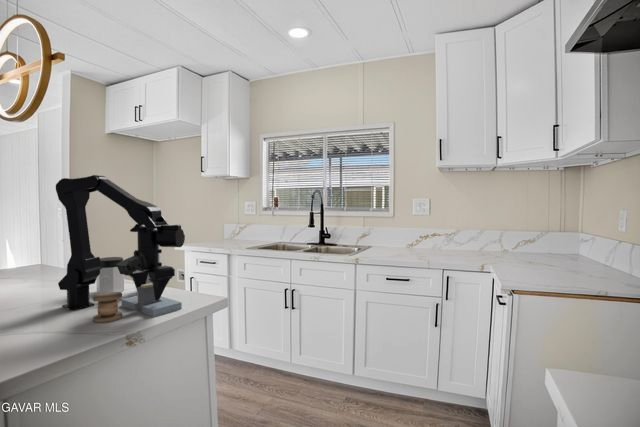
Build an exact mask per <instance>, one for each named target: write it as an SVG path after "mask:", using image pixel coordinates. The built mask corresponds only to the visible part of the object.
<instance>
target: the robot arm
mask: <svg viewBox="0 0 640 427" xmlns="http://www.w3.org/2000/svg"><path fill="white" fill-rule="evenodd" d="M55 191H56V192H55V193H56V195H57V199H58V201H59V202H60V203H61V204H62V205H63V207H64V208H65V212H66V213H65V214H66V220H67V227H68V237H69V243H70V252H71V255H70V258H69V260H68V262H67V265H66V275H64V277H62V279H60V280H59V282H58V284H57V285H58V287H59V291H66V304H63V305H62V307H63V308H64V309H66V310H69V311H74V310H78V309H83V308H87V307H92V306H95V303H94V302H92V301H90V285H93V284H96V282H97V281H96V278H97V277H98V275H99V274H100V269H102V268H101V266H100V258H101V257H100V256H95V255H94V254H93V253H92V250H91V242H90V234H89V228H88V227H89V226H88V217H87V211H86V208H87V207H86V206H87V204H88V202H89V200H90V195H91V194H90V193H94V192H99V193H100V194H102V195H103V196H104V197H106V198H107V199H109V200H111V201H112V202H114V203H115V204H117V205H118V206H120V207H122V208H123V209H124V210H125V211H126V213H127V214H128V215H129V218H131V219H132V220H133V221H134V222H135V223H136V224H134V226H133V227H132V228H131V229H130V230H129V231H130V233H137V249H135V250H134V251H133V255H132V256H129V257H127V258H125V259H123V261H121V262H119V263H117V264H116V265H117V267H118V270H119V272H120V274H124V276H126V277H127V276H128V277H130V278H131V279H132V280H133V283H134V285H135V289H136V292H137V293H138V287H141V285H144V284H146V280H147V277H148V273H149V277H150V278H151V279H148V280H149V281H151V282H152V283H153V288H154V296H155V300H159V299H160V297H162V295H163V292H164V291H165V288H166V287H167V285H168V284H169V281H170V280H172V279H173V277H175V276H176V272H175V271H176V269H175V268H174V267H172V266H168V265H162V264H163V263H162V262H161V263H160V262H159V253H161V254H162V248H182V247H183V245H184V243H185V240H186V239H185V238H186V235H185V233H184V230H183V229H182V224H172V225H171V224H169V223H168V221H167V220H166V218H165V217H164V216H163V215H162V210H161V208H160V207H159V206H157V205H155V204H152V203H150V202H148V201H144V200H142V199H139V198H137V197H136V196H134V195H133V194H131V193H130V192H128V191H126V190H125V189H124V188H121V187H120V186H118V184H116V183H115V182H113V181H112V180H110V179H109V178H108V177H107V176H105V175H98V174H93V175H91V176H85V177H76V178H69V177H64V178H61V179H60V180H59V179H58V181H57V183H56V184H55ZM159 245H160V246H161V249H159ZM159 266H160V267H159Z"/></svg>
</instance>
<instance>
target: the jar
mask: <svg viewBox="0 0 640 427" xmlns="http://www.w3.org/2000/svg"><path fill="white" fill-rule="evenodd" d="M123 260H124V257H122V256H108V257H107V256H106V257H100V266H101V268H102V269H100V274H99V275H98V277H97V278H96V281H95V282H96V293H97V294H101V293H106V292H121V293H122V292H125V275H124V274H120V272H119V270H118V267H117V265H116V264H117V263H119V262H121V261H123Z"/></svg>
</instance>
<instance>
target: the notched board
mask: <svg viewBox="0 0 640 427" xmlns="http://www.w3.org/2000/svg"><path fill="white" fill-rule="evenodd" d="M120 299H121V300H120V301H121V302H120V303H121V304H120V306H121V307H125V308H127V309H130V310H133V311H136V310H137V311H138V295H135V296H131V297H129V296H128V297H126V298H120ZM182 305H183V304H182V302H181V301H179V300H176V299H171V298H169V297H165V296H161V297H160V299H159V302H157V303H153V304H149V305H145V306H142V311H141V312H142V314H145V315H147V316H150V317H153V318H154V317H157V316H161V315H165V314H167V313H171V312H175V311H178V310H181V309H182Z"/></svg>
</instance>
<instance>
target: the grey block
mask: <svg viewBox="0 0 640 427" xmlns="http://www.w3.org/2000/svg"><path fill="white" fill-rule="evenodd" d="M137 296H138V309H137V311H139V312H142V306H145V305H149V304H153V303H157V302H159V300H155V296H154V288H153V283H148V284H144V285H141V287H138V292H137Z"/></svg>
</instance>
